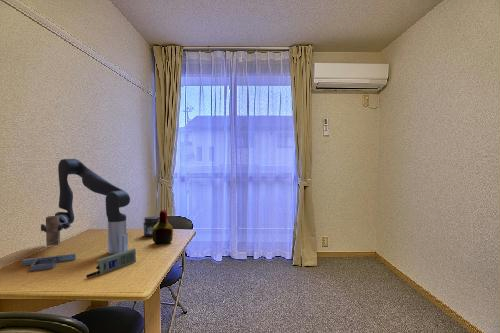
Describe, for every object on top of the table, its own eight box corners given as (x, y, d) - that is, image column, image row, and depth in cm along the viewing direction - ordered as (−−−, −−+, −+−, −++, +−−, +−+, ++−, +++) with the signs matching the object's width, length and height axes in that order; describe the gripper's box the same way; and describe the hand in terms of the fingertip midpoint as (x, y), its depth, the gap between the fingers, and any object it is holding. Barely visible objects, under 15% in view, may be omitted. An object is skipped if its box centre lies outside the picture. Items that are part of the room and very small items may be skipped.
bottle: (173, 241, 186) (173, 209, 186) (172, 244, 180) (172, 210, 180) (153, 242, 185) (153, 209, 184) (151, 245, 179) (151, 211, 178)
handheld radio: (137, 262, 149) (89, 280, 127) (132, 261, 151) (84, 278, 129) (136, 248, 149) (89, 264, 127) (131, 248, 151) (84, 263, 129)
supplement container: (147, 233, 206) (147, 215, 206) (162, 233, 205) (162, 216, 205) (140, 237, 196) (140, 218, 196) (156, 237, 195) (156, 219, 195)
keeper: (76, 258, 154) (75, 253, 154) (72, 266, 143) (72, 261, 143) (23, 264, 146) (23, 259, 145) (15, 273, 134) (15, 267, 134)
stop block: (60, 242, 158) (59, 215, 157) (58, 244, 153) (57, 217, 153) (48, 243, 156) (48, 216, 155) (46, 245, 151) (45, 217, 151)
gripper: (43, 217, 165) (34, 223, 149) (73, 215, 170) (68, 220, 154) (43, 231, 165) (35, 238, 149) (73, 228, 170) (68, 235, 155)
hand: (51, 229), depth 152 cm, fingers closed on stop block, 5 cm apart
